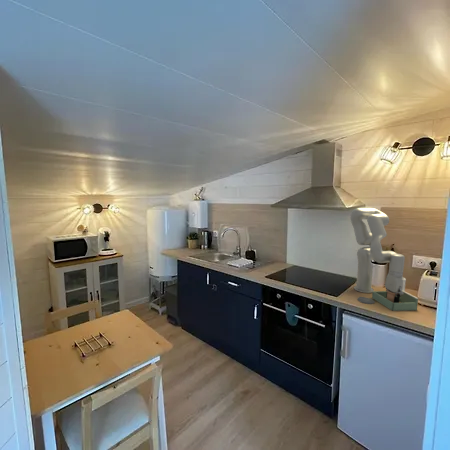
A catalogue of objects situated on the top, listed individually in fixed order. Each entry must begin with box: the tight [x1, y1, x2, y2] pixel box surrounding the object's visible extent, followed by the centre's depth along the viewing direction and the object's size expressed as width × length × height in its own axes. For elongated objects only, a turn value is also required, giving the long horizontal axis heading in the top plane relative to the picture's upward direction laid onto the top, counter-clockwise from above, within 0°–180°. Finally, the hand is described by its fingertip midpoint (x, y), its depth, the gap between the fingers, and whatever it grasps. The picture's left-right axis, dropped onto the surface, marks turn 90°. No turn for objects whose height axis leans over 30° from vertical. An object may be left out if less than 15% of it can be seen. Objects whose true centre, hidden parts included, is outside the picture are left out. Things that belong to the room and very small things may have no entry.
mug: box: [402, 276, 407, 292], centre depth 186 cm, size 9×12×11 cm
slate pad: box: [357, 296, 376, 305], centre depth 172 cm, size 10×10×1 cm
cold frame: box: [371, 290, 419, 312], centre depth 168 cm, size 20×16×8 cm
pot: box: [386, 290, 398, 303], centre depth 168 cm, size 7×7×7 cm
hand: (392, 300), depth 169 cm, fingers closed on pot, 6 cm apart
